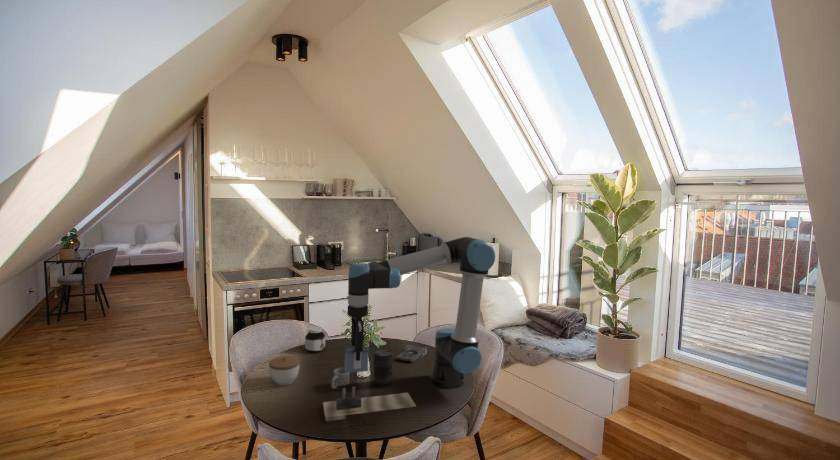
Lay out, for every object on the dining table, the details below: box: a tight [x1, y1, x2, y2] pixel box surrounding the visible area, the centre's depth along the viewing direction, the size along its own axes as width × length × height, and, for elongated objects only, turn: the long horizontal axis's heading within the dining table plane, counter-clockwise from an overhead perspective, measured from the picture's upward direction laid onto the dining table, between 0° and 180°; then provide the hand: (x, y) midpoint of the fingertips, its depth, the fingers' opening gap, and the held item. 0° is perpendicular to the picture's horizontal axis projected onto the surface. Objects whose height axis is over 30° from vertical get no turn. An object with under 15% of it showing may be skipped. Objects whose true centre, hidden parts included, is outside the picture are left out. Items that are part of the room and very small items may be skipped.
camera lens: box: [373, 349, 394, 388], centre depth 192 cm, size 8×8×15 cm
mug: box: [330, 367, 350, 390], centre depth 191 cm, size 10×7×7 cm, turn 154°
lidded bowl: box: [268, 355, 301, 386], centre depth 194 cm, size 13×13×11 cm
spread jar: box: [304, 325, 326, 354], centre depth 234 cm, size 12×11×12 cm
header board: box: [322, 386, 417, 422], centre depth 173 cm, size 34×12×9 cm, turn 107°
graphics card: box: [396, 344, 428, 363], centre depth 227 cm, size 17×4×12 cm
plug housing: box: [344, 345, 369, 374], centre depth 170 cm, size 8×4×8 cm, turn 107°
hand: (356, 365), depth 170 cm, fingers closed on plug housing, 4 cm apart
